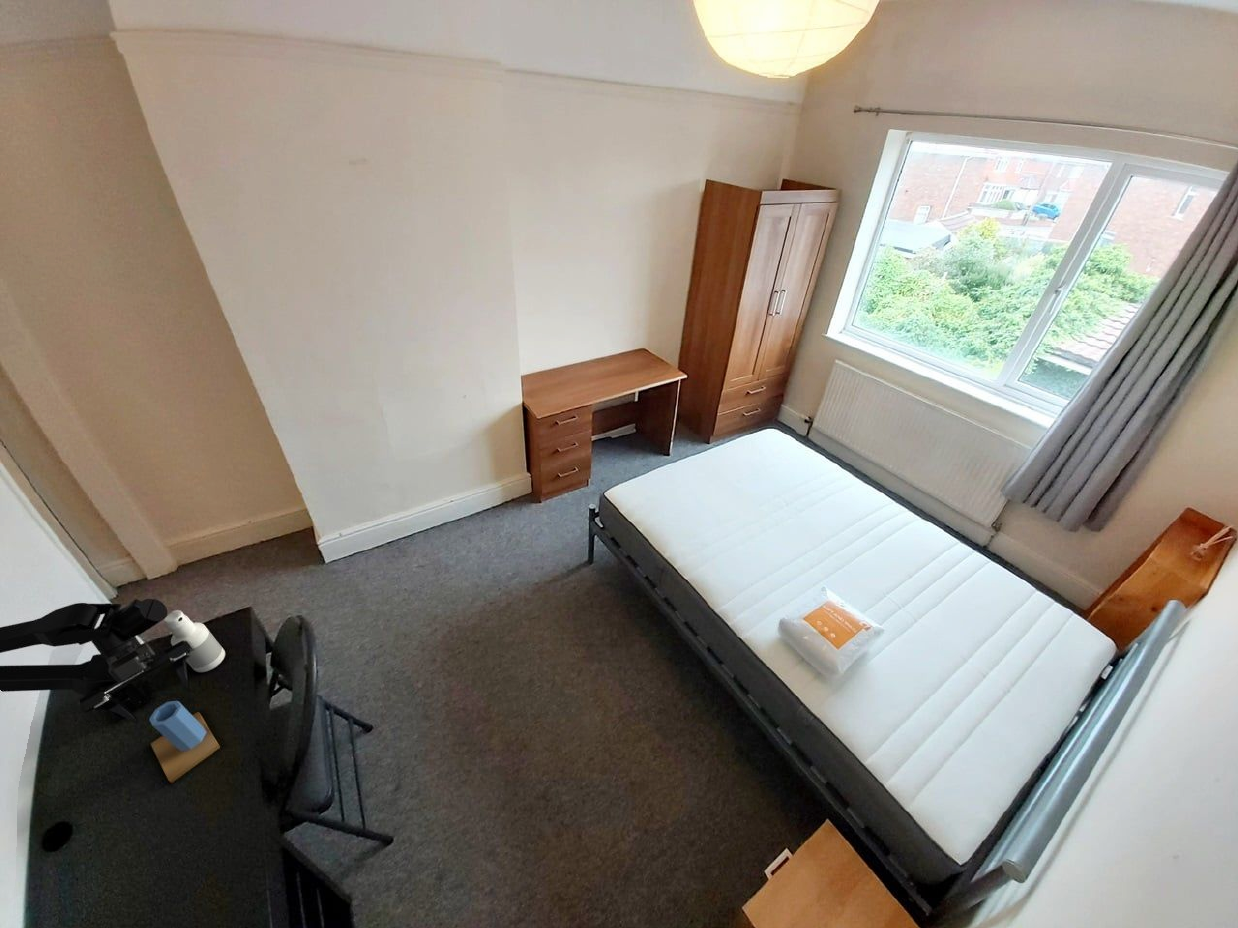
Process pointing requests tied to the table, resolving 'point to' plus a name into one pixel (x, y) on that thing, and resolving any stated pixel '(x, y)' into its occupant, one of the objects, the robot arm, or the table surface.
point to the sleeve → (178, 725)
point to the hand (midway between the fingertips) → (163, 705)
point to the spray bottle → (195, 641)
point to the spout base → (183, 753)
